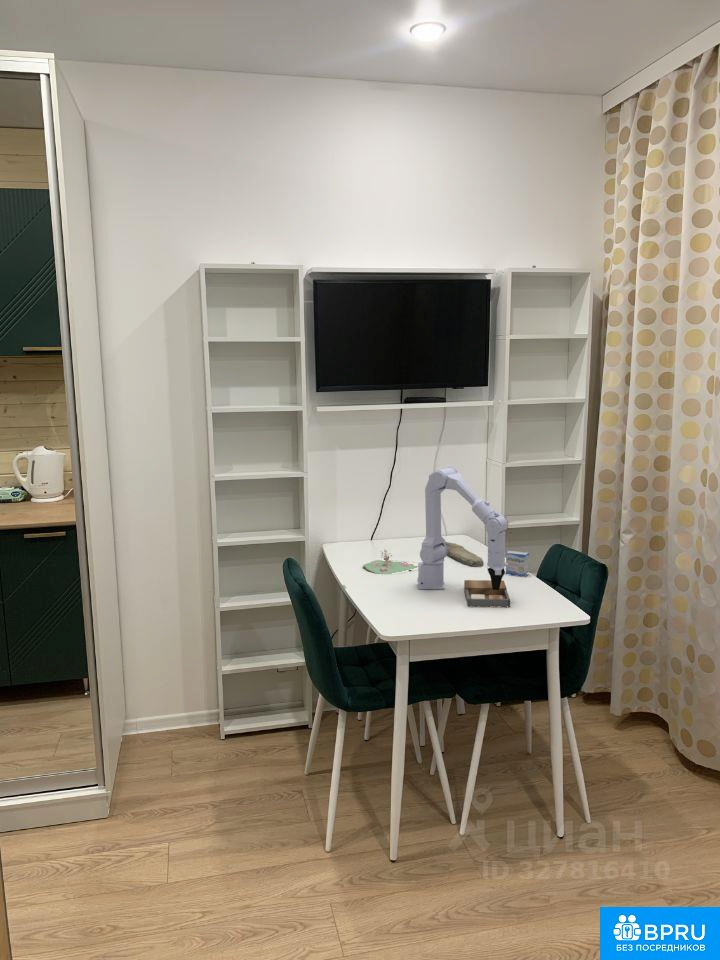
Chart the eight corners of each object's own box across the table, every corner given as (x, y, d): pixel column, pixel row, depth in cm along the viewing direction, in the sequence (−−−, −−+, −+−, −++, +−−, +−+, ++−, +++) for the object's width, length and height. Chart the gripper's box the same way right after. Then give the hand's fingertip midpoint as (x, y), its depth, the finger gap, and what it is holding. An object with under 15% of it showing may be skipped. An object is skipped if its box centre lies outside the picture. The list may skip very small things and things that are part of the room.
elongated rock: (468, 572, 294) (489, 570, 298) (469, 559, 293) (490, 558, 297) (427, 547, 326) (447, 546, 329) (428, 535, 325) (448, 534, 328)
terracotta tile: (488, 594, 254) (488, 600, 254) (489, 599, 249) (488, 604, 250) (502, 595, 253) (502, 600, 253) (502, 599, 249) (502, 605, 249)
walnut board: (465, 596, 260) (465, 587, 260) (464, 588, 269) (464, 580, 268) (506, 596, 259) (506, 588, 258) (503, 588, 268) (503, 580, 267)
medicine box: (505, 574, 285) (505, 552, 283) (508, 571, 289) (509, 549, 287) (525, 577, 281) (526, 554, 280) (528, 574, 285) (529, 552, 284)
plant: (418, 559, 310) (418, 538, 308) (432, 573, 290) (432, 550, 288) (359, 563, 305) (358, 541, 304) (369, 577, 285) (368, 554, 284)
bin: (467, 606, 249) (467, 599, 249) (465, 596, 260) (465, 589, 260) (510, 607, 248) (510, 599, 248) (506, 596, 259) (506, 589, 259)
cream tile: (471, 594, 255) (471, 599, 255) (471, 598, 250) (471, 604, 251) (484, 594, 254) (484, 600, 255) (484, 598, 250) (484, 604, 250)
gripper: (510, 556, 246) (510, 596, 248) (505, 545, 260) (505, 583, 262) (489, 556, 247) (488, 596, 249) (485, 545, 261) (485, 582, 263)
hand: (495, 589), depth 256 cm, fingers closed
